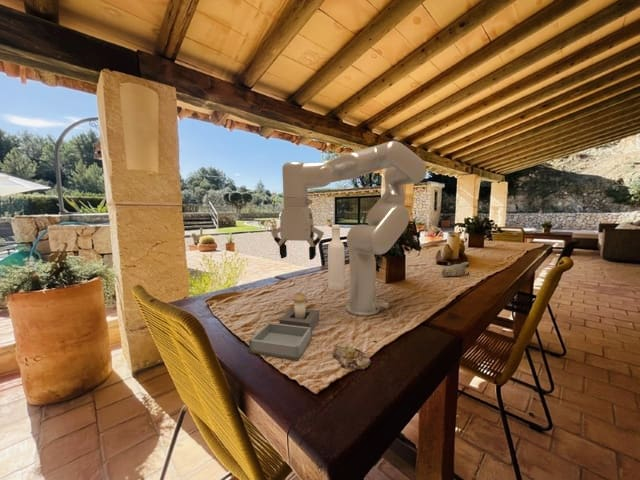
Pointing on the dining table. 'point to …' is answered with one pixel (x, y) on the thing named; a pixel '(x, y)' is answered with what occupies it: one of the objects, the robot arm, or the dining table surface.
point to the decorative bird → (455, 269)
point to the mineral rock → (351, 357)
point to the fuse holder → (310, 320)
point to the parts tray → (281, 340)
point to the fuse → (299, 306)
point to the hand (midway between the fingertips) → (297, 258)
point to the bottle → (336, 261)
